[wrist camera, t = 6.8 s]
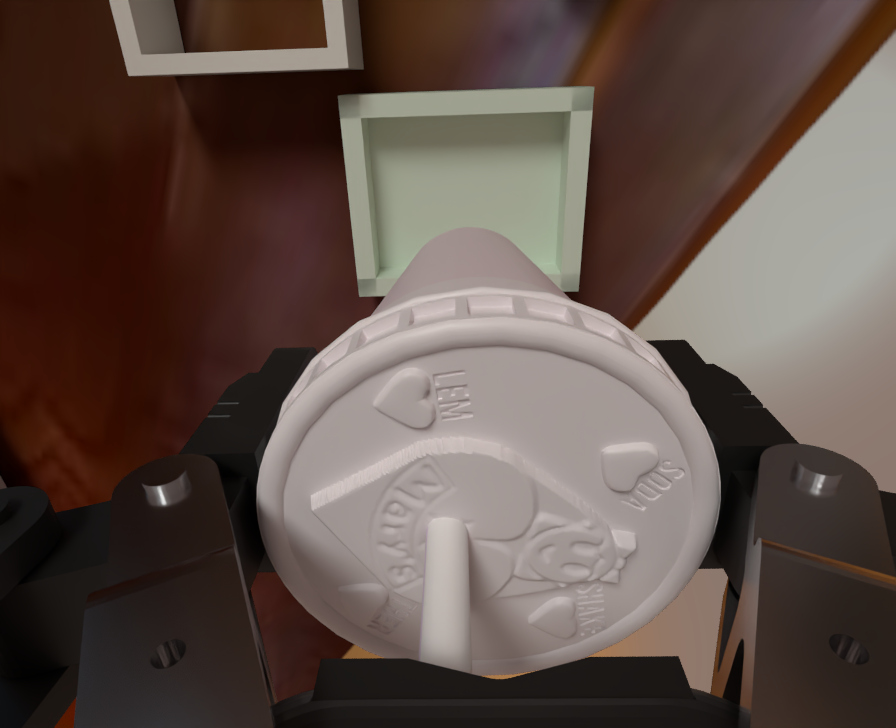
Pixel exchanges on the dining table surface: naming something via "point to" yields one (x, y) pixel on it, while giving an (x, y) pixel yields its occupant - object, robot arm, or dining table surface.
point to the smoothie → (487, 471)
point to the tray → (466, 174)
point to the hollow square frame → (162, 53)
